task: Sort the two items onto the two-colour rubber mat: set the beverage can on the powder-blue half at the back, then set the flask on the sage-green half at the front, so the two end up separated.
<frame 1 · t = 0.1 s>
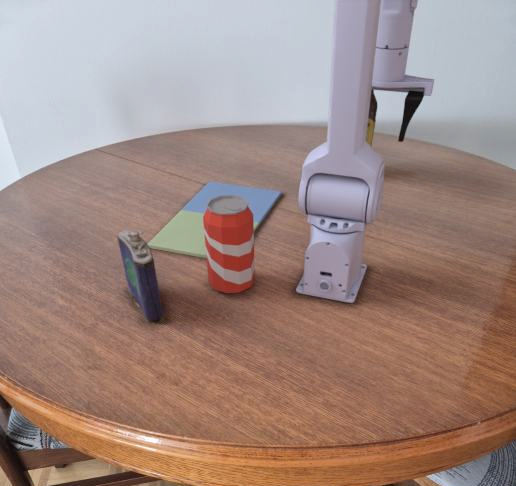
hand: (377, 137, 90), 10 cm above the table, tool pointing down, fingers open, 7 cm apart
sauce bottle: (351, 176, 103), on the table
flask: (147, 305, 72), on the table
beverage can: (232, 285, 76), on the table
sorting mat: (219, 219, 90), on the table
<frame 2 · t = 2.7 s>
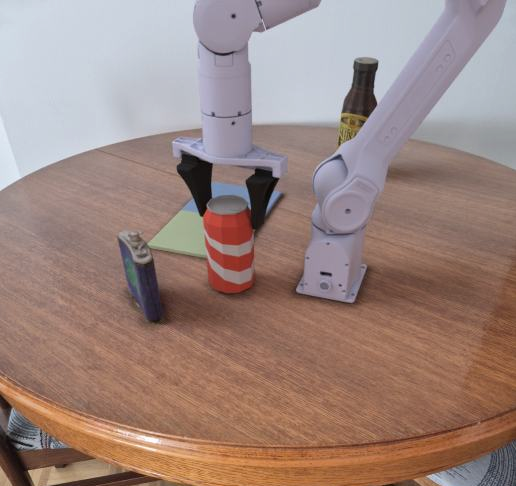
hand: (231, 219, 70), 10 cm above the table, tool pointing down, fingers open, 7 cm apart
nothing on the table moved.
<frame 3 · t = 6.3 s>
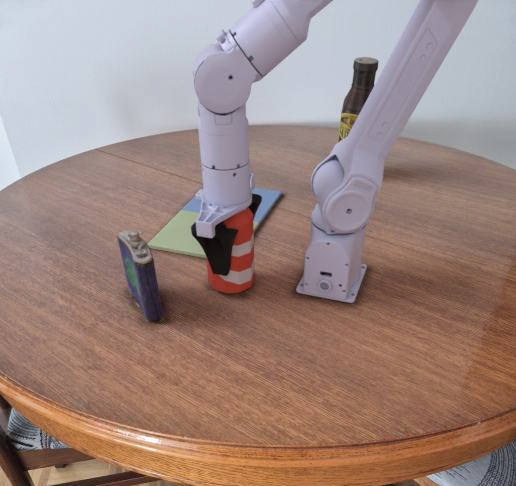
hand: (230, 259, 73), 4 cm above the table, tool pointing down, fingers closed on beverage can, 6 cm apart
beverage can: (231, 285, 76), on the table, touching gripper
everything else where it was.
when the fingers open (4 cm above the table, at t = 12.0 s): beverage can stays where it is, resting on sorting mat.
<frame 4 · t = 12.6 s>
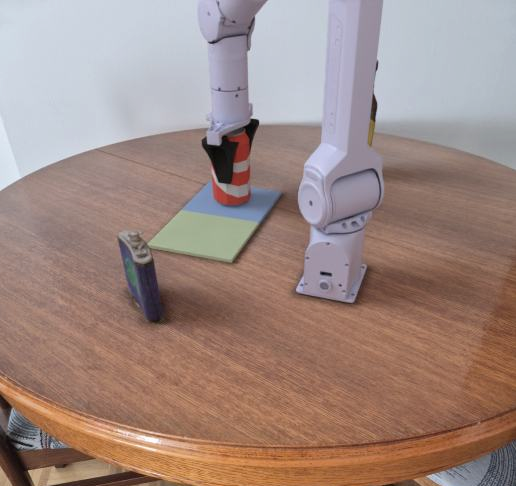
hand: (233, 173, 90), 5 cm above the table, tool pointing down, fingers open, 7 cm apart
beverage can: (232, 201, 94), resting on sorting mat
everything else where it was.
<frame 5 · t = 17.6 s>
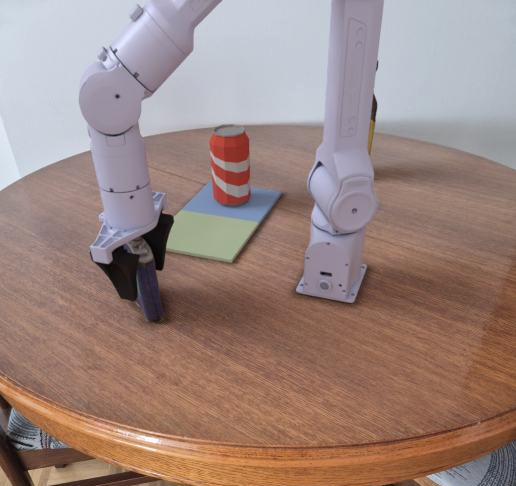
hand: (142, 282, 70), 3 cm above the table, tool pointing down, fingers closed on flask, 6 cm apart
flask: (147, 305, 72), on the table, touching gripper
everything else where it was.
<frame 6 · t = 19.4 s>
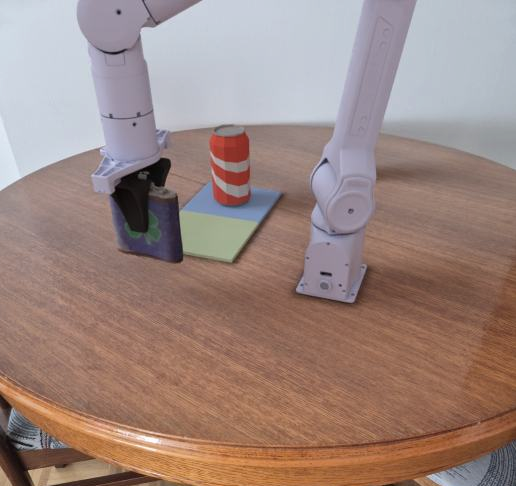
hand: (145, 224, 67), 10 cm above the table, tool pointing down, fingers closed on flask, 3 cm apart
flask: (151, 255, 70), point 6 cm above the table, touching gripper
everything else where it was.
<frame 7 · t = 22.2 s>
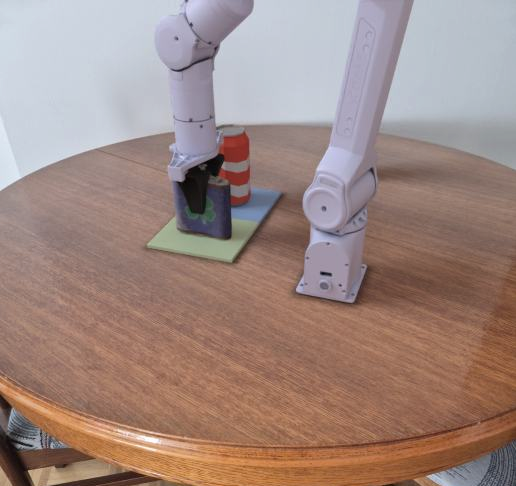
hand: (202, 207, 82), 5 cm above the table, tool pointing down, fingers closed on flask, 3 cm apart
flask: (204, 233, 85), point 1 cm above the table, touching gripper, sorting mat
everything else where it was.
when the fingers open (5 cm above the table, at t = 22.4 s): flask stays where it is, resting on sorting mat.
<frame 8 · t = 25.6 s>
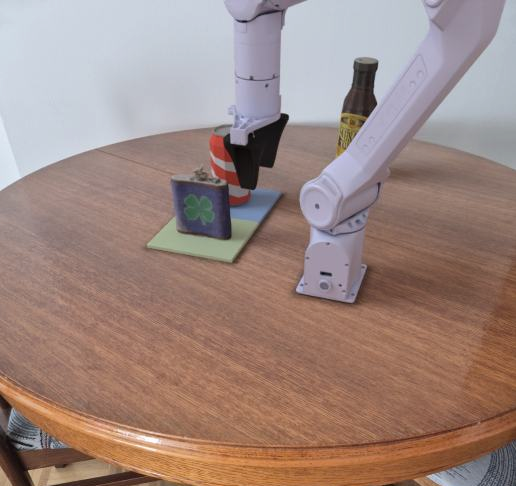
hand: (257, 177, 77), 10 cm above the table, tool pointing down, fingers open, 7 cm apart
flask: (204, 234, 85), resting on sorting mat
everything else where it was.
at the end: beverage can inside the target area on the sorting mat (0.5 cm from its centre), point 0.4 cm above the sorting mat's base; flask inside the target area on the sorting mat (0.2 cm from its centre), point 0.4 cm above the sorting mat's base; beverage can tilted 0° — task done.
